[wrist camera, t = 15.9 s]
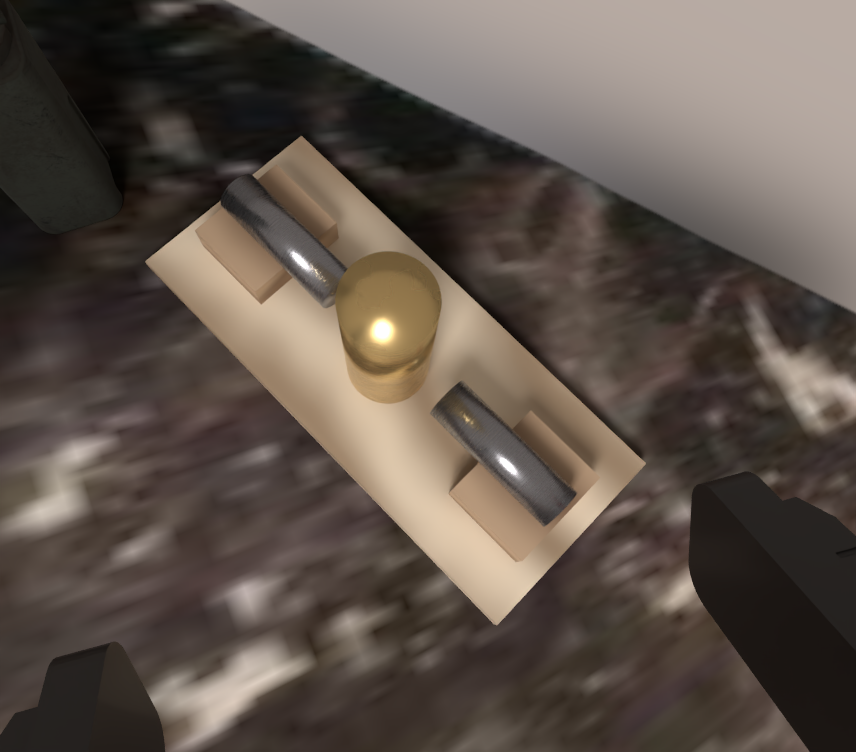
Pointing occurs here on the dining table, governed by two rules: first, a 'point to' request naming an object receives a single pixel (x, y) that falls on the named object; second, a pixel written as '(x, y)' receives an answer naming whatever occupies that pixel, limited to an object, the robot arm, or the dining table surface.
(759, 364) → the dining table surface
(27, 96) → the black and grey bottle
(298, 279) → the shafts
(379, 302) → the cylinder
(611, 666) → the dining table surface
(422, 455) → the shaft bench
